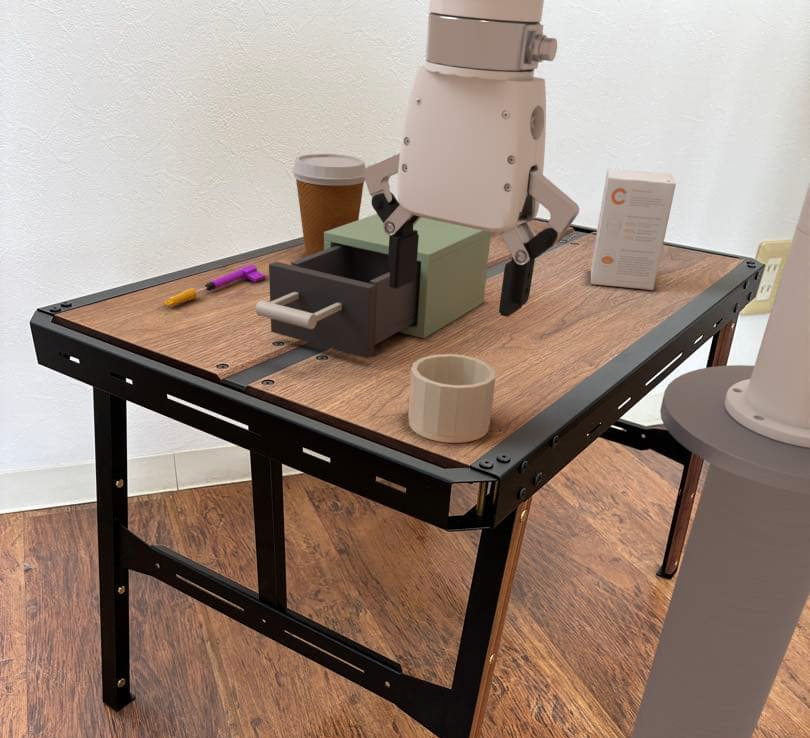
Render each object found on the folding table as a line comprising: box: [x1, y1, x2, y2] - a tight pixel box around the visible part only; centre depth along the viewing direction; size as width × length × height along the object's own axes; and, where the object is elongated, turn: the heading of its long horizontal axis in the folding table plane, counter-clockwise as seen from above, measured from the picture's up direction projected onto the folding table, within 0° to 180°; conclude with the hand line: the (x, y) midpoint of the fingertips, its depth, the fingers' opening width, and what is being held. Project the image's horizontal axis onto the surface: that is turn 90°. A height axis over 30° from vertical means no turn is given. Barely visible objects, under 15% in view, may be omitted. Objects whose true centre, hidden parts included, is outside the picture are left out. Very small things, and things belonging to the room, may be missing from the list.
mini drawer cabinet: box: [324, 213, 492, 339], centre depth 96 cm, size 15×13×9 cm
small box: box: [590, 168, 677, 291], centre depth 108 cm, size 8×6×13 cm
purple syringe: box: [163, 264, 266, 307], centre depth 99 cm, size 3×1×16 cm
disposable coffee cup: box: [291, 153, 366, 257], centre depth 110 cm, size 10×10×12 cm
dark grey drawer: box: [255, 244, 421, 359], centre depth 86 cm, size 19×12×7 cm, turn 150°
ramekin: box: [407, 353, 497, 444], centre depth 72 cm, size 7×7×5 cm
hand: (454, 297), depth 67 cm, fingers open, 9 cm apart
